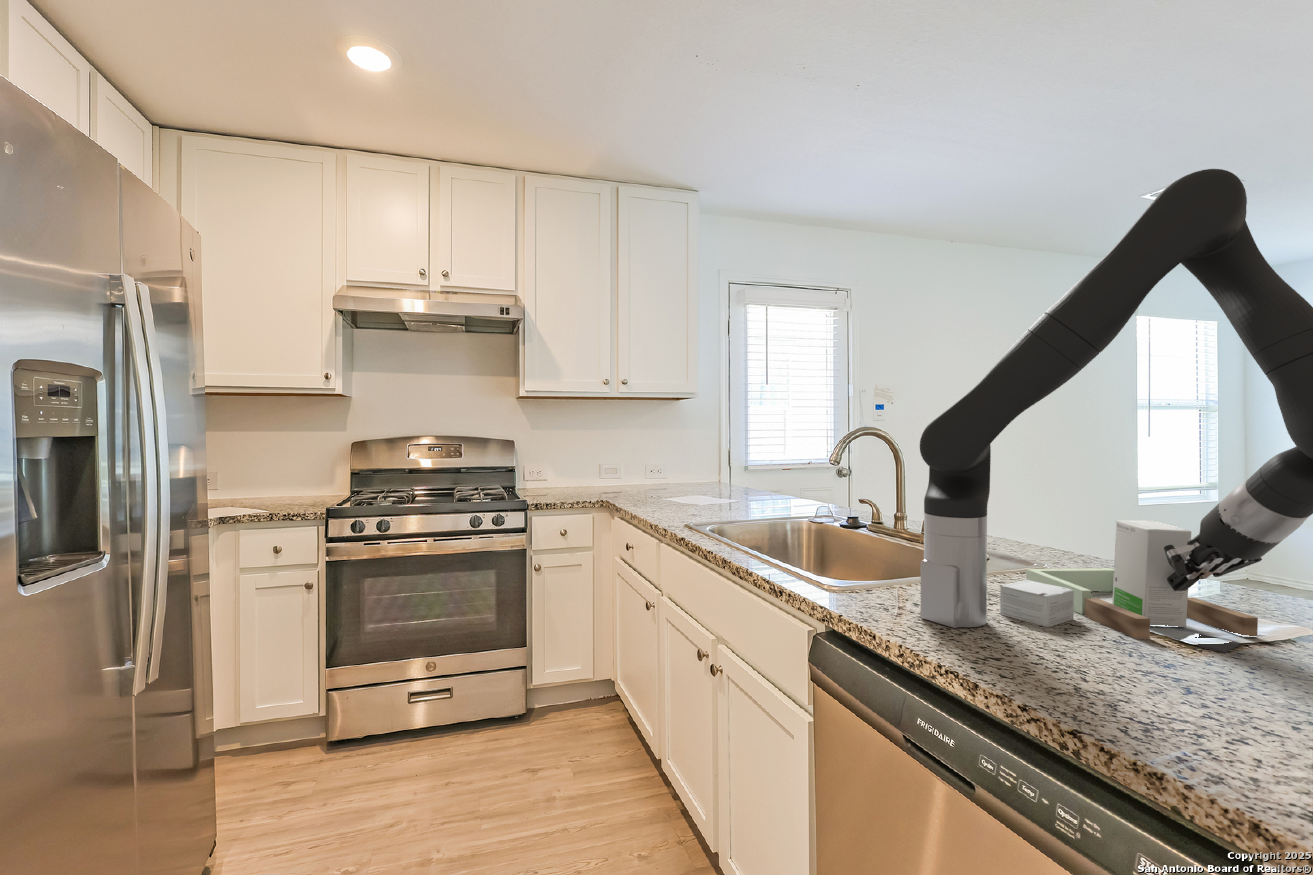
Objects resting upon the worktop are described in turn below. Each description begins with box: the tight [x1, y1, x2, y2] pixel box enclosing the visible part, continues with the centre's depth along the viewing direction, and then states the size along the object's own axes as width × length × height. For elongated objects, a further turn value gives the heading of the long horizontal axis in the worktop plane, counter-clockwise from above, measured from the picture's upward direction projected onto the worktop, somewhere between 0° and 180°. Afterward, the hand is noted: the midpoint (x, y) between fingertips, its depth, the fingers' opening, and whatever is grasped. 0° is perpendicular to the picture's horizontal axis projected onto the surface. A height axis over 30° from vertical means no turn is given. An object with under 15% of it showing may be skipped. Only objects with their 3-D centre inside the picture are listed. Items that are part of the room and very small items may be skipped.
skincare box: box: [1111, 519, 1192, 628], centre depth 97 cm, size 8×7×16 cm
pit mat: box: [1195, 633, 1241, 654], centre depth 87 cm, size 6×5×1 cm
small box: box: [999, 579, 1075, 628], centre depth 100 cm, size 8×8×5 cm
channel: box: [1084, 597, 1259, 640], centre depth 94 cm, size 10×18×3 cm, turn 90°
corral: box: [1025, 567, 1114, 615], centre depth 108 cm, size 15×18×4 cm
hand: (1175, 585), depth 93 cm, fingers closed
